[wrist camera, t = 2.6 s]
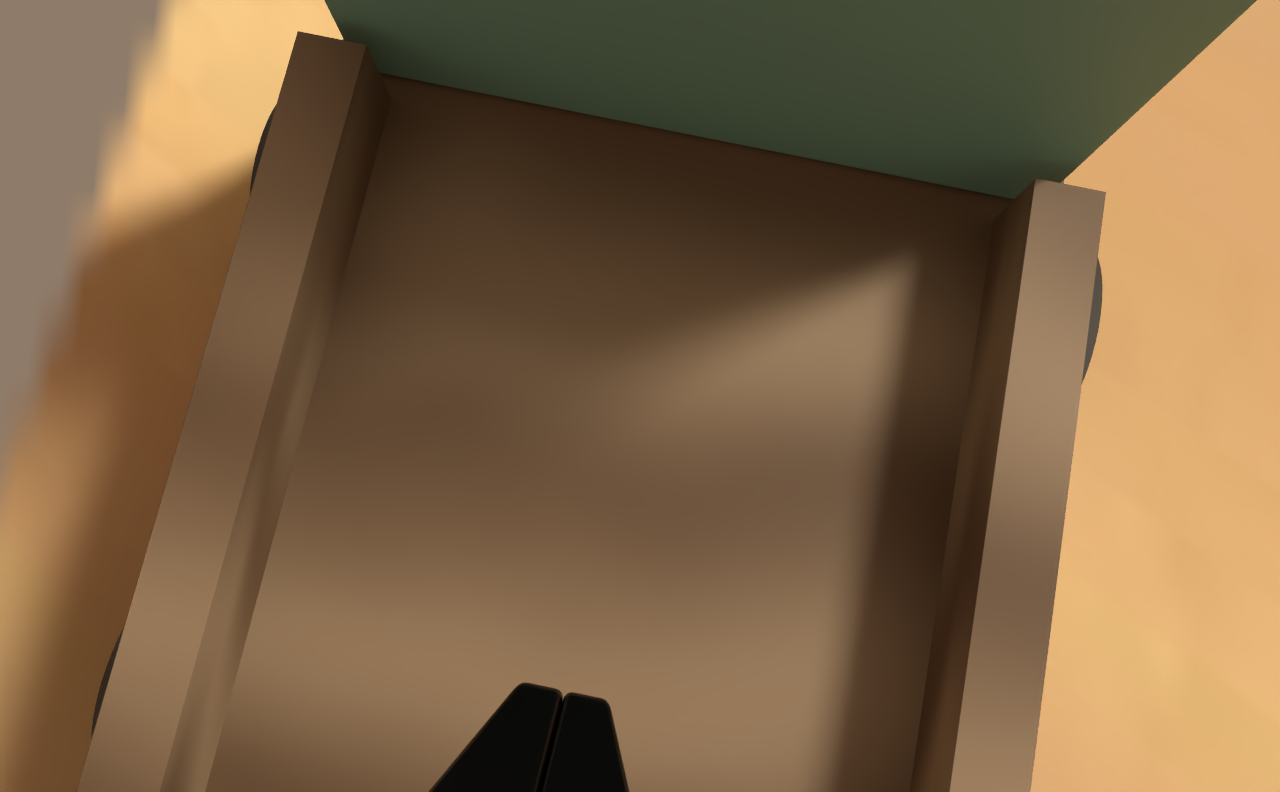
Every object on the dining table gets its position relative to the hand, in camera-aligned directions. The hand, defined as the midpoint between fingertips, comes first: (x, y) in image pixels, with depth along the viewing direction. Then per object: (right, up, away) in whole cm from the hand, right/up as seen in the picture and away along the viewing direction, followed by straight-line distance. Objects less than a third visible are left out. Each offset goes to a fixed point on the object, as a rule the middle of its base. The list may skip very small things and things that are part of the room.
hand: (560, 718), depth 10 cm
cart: (0, 0, +13) cm, 13 cm away
